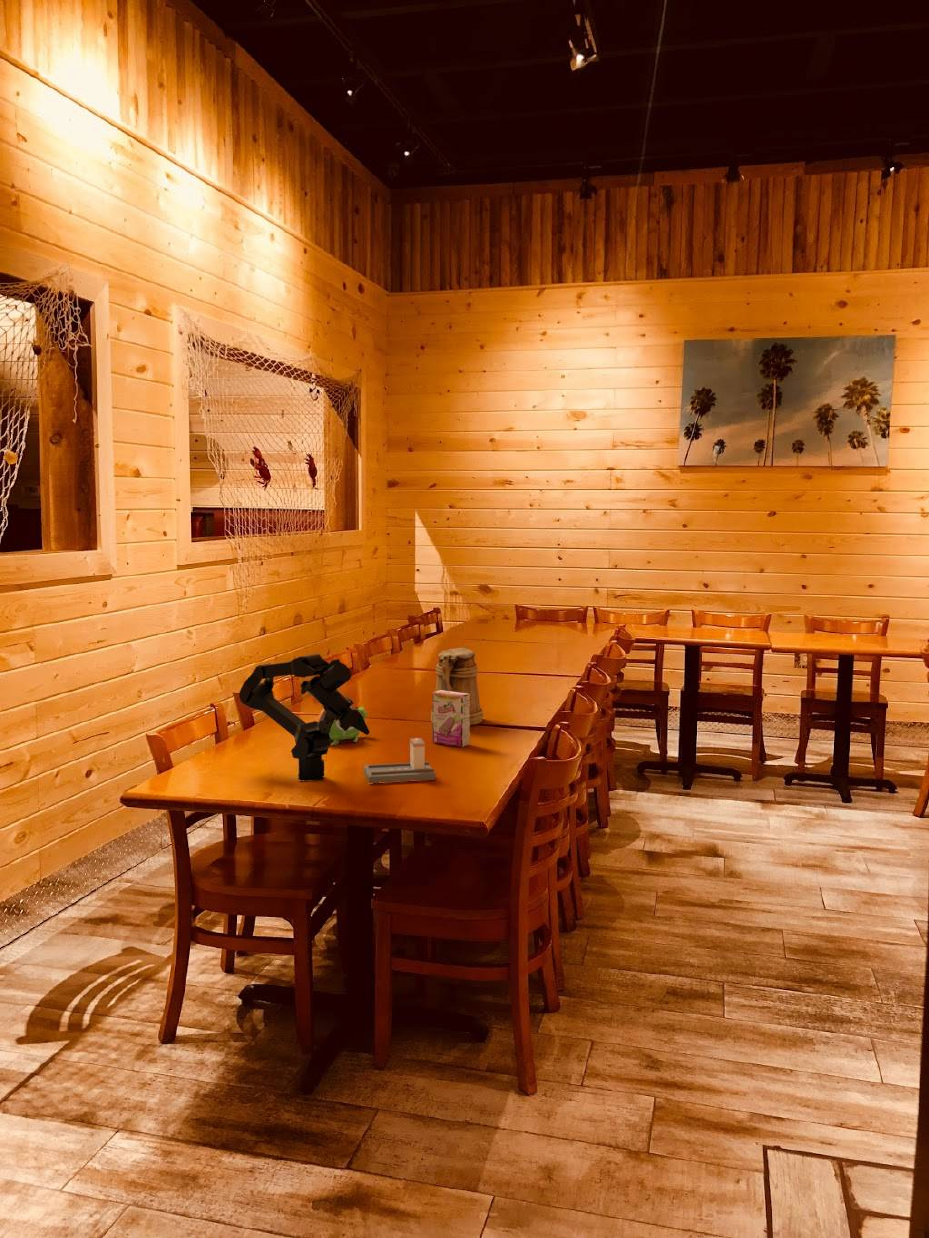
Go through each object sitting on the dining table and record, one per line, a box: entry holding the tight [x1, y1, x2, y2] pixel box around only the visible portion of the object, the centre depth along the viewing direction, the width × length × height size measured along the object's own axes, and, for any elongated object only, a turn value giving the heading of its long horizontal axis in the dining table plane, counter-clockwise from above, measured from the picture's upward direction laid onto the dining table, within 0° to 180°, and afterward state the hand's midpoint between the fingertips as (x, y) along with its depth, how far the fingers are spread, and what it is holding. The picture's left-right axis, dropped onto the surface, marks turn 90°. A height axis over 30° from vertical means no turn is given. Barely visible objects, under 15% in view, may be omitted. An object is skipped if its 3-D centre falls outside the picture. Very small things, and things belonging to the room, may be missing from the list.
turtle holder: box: [317, 705, 368, 747], centre depth 310 cm, size 12×18×12 cm
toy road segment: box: [363, 761, 436, 783], centre depth 269 cm, size 18×12×3 cm, turn 102°
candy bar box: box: [432, 690, 471, 748], centre depth 305 cm, size 11×5×16 cm, turn 59°
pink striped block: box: [409, 737, 426, 770], centre depth 270 cm, size 3×6×8 cm, turn 12°
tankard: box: [430, 647, 484, 727], centre depth 334 cm, size 18×24×25 cm
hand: (368, 733), depth 267 cm, fingers closed
